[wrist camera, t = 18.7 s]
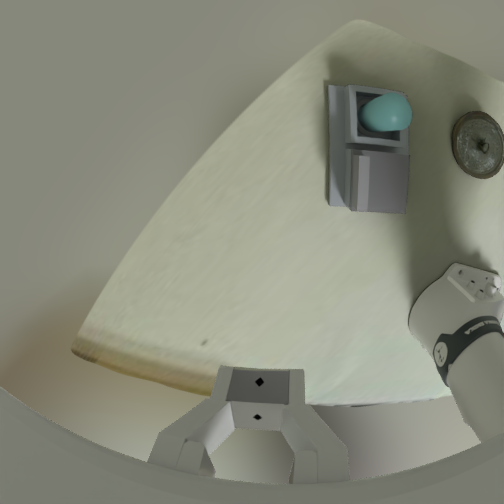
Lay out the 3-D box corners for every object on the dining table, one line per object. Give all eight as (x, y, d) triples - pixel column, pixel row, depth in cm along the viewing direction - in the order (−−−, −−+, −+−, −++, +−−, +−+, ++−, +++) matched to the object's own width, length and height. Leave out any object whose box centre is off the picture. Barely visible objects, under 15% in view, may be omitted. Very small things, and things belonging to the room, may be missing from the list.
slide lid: (351, 149, 28) (359, 150, 25) (406, 154, 27) (418, 156, 24) (349, 209, 31) (356, 216, 28) (403, 212, 30) (413, 219, 27)
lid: (498, 163, 28) (517, 168, 23) (464, 187, 31) (482, 194, 26) (477, 104, 25) (496, 103, 21) (440, 123, 28) (458, 123, 24)
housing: (327, 86, 29) (332, 79, 25) (403, 96, 28) (416, 92, 24) (328, 204, 35) (333, 211, 31) (401, 207, 34) (413, 215, 30)
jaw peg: (385, 104, 27) (411, 96, 20) (386, 134, 29) (412, 133, 22) (357, 100, 28) (376, 89, 21) (357, 130, 30) (377, 127, 22)
